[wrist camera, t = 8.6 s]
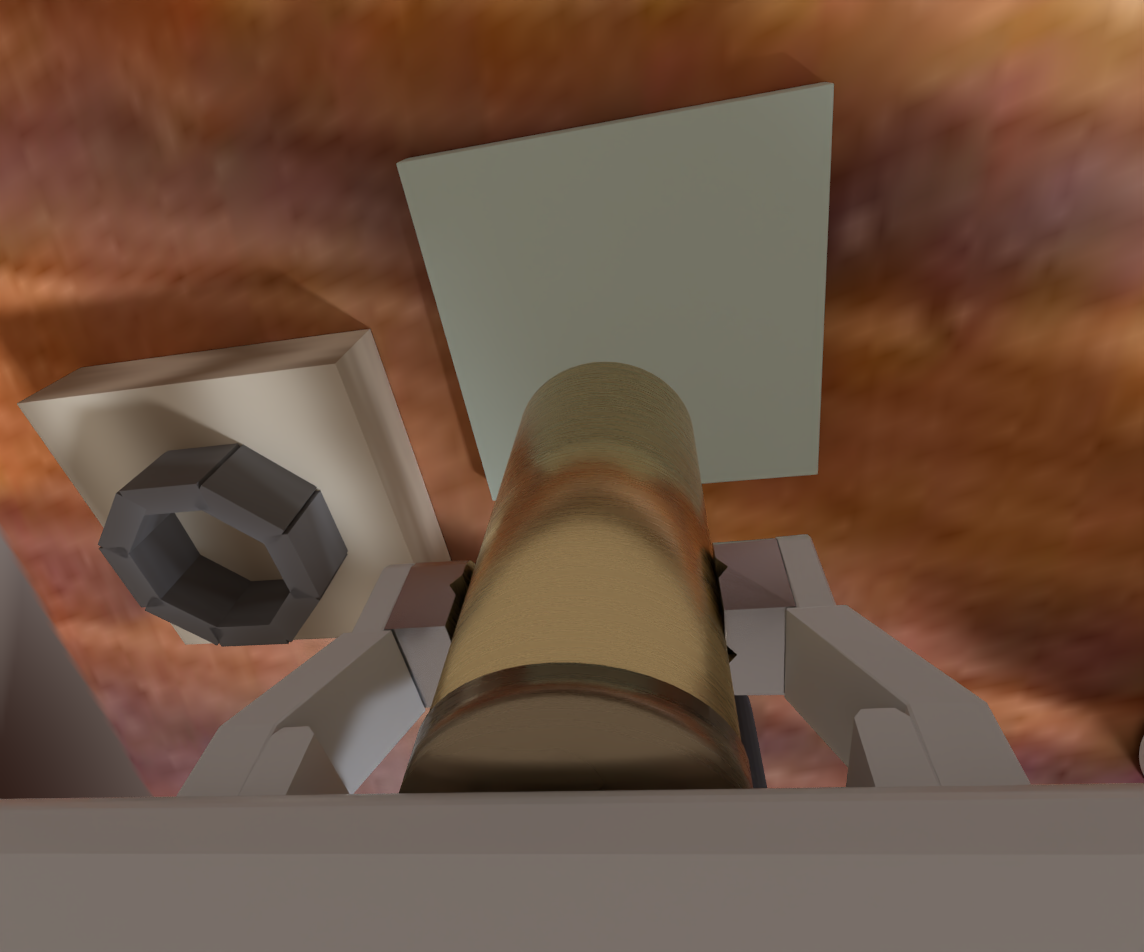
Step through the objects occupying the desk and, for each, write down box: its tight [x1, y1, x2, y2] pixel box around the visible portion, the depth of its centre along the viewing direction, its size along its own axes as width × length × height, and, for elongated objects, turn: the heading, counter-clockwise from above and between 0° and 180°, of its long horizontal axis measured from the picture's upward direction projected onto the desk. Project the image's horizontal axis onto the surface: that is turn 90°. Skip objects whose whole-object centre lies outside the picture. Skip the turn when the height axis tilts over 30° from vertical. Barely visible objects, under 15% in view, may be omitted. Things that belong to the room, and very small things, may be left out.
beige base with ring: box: [17, 329, 451, 646], centre depth 25 cm, size 12×12×6 cm
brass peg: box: [399, 362, 753, 793], centre depth 11 cm, size 4×4×9 cm
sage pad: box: [396, 82, 834, 501], centre depth 21 cm, size 12×12×1 cm
